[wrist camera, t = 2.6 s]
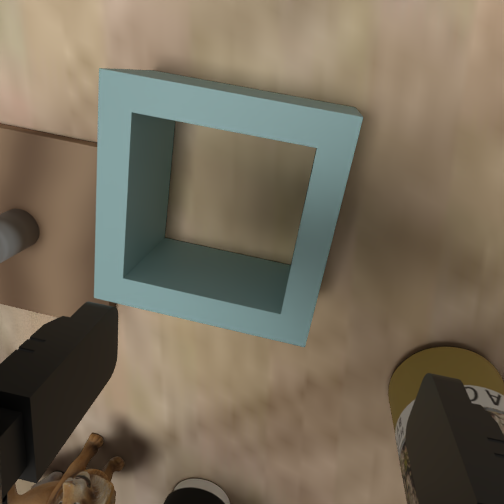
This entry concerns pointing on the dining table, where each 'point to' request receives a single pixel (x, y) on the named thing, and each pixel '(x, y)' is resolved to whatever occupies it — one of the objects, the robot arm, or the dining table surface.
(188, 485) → the dixie cup
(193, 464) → the dining table surface
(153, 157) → the collar
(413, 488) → the paper tube
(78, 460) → the lion figurine
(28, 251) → the shaft block
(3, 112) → the dining table surface
